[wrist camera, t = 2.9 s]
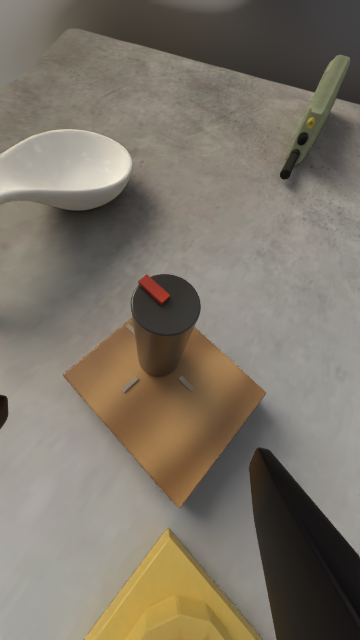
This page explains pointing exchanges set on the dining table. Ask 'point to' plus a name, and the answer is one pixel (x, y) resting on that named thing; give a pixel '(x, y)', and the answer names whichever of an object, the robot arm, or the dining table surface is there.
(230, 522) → the dining table surface
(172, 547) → the button box
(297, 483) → the robot arm
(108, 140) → the spoon rest
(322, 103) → the handheld radio
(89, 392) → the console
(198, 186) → the dining table surface
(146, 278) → the knob
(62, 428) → the dining table surface
